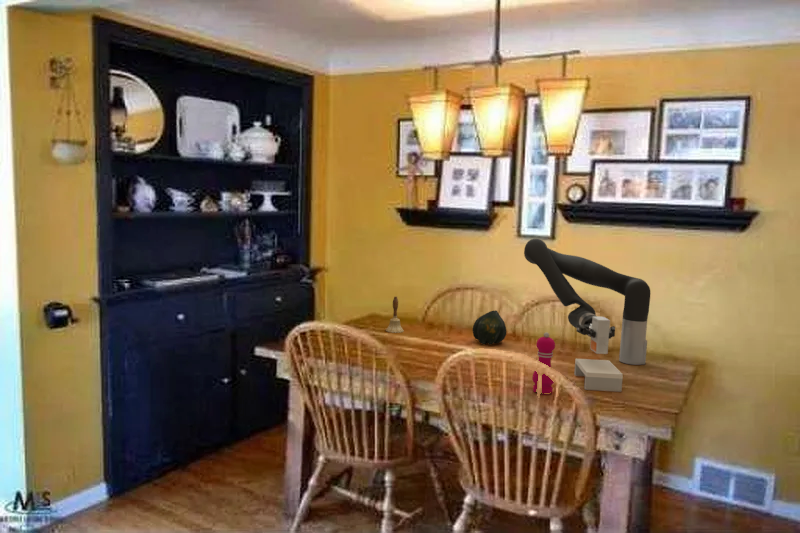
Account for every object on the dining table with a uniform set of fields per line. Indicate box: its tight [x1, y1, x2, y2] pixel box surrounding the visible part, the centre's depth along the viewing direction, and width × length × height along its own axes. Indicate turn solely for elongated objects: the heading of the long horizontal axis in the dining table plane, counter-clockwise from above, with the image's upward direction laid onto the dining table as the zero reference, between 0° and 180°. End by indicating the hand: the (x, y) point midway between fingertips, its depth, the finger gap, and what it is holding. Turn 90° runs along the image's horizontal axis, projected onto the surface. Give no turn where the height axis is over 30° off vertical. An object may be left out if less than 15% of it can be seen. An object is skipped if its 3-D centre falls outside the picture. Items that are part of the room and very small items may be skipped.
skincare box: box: [589, 315, 611, 355], centre depth 223 cm, size 6×4×12 cm
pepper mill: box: [532, 331, 556, 395], centre depth 211 cm, size 7×7×20 cm
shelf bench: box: [573, 358, 624, 393], centre depth 225 cm, size 12×18×6 cm, turn 176°
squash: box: [471, 310, 507, 346], centre depth 278 cm, size 14×15×15 cm
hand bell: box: [385, 296, 404, 334], centre depth 294 cm, size 8×8×16 cm
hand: (602, 335), depth 220 cm, fingers closed on skincare box, 4 cm apart
